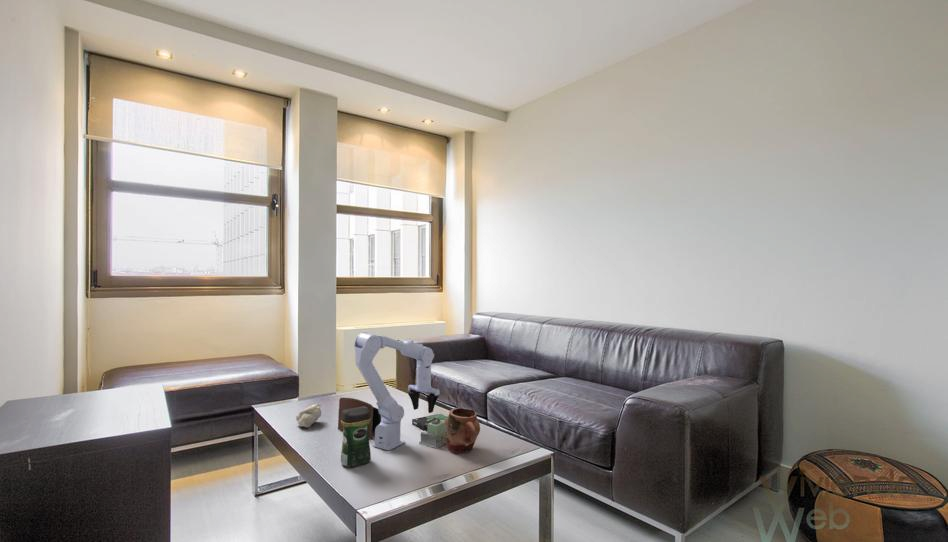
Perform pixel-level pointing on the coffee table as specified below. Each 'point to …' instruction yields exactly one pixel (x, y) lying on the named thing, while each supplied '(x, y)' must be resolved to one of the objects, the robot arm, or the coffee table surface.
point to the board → (437, 427)
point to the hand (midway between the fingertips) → (423, 410)
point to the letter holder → (354, 403)
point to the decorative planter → (461, 430)
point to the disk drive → (427, 421)
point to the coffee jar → (355, 437)
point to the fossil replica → (309, 416)
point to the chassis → (433, 439)
